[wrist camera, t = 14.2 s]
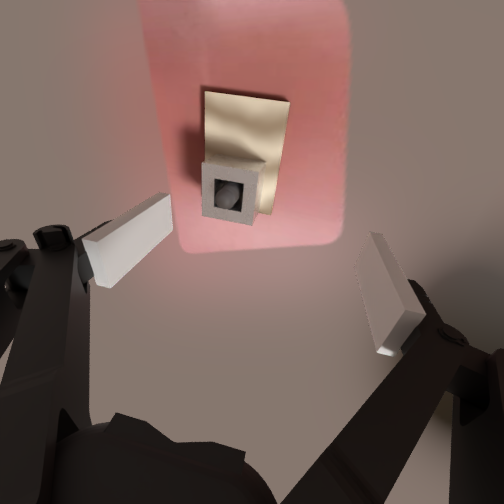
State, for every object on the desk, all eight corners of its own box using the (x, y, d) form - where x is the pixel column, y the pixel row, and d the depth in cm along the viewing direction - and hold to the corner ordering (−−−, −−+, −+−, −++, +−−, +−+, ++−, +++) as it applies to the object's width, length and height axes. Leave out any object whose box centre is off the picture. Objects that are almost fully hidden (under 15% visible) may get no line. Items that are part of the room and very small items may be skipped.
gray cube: (217, 153, 41) (201, 162, 35) (266, 161, 40) (258, 172, 34) (215, 201, 45) (202, 215, 40) (259, 209, 44) (252, 225, 39)
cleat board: (208, 91, 37) (173, 88, 28) (290, 102, 36) (283, 102, 26) (207, 200, 47) (181, 224, 38) (271, 212, 46) (261, 241, 36)
